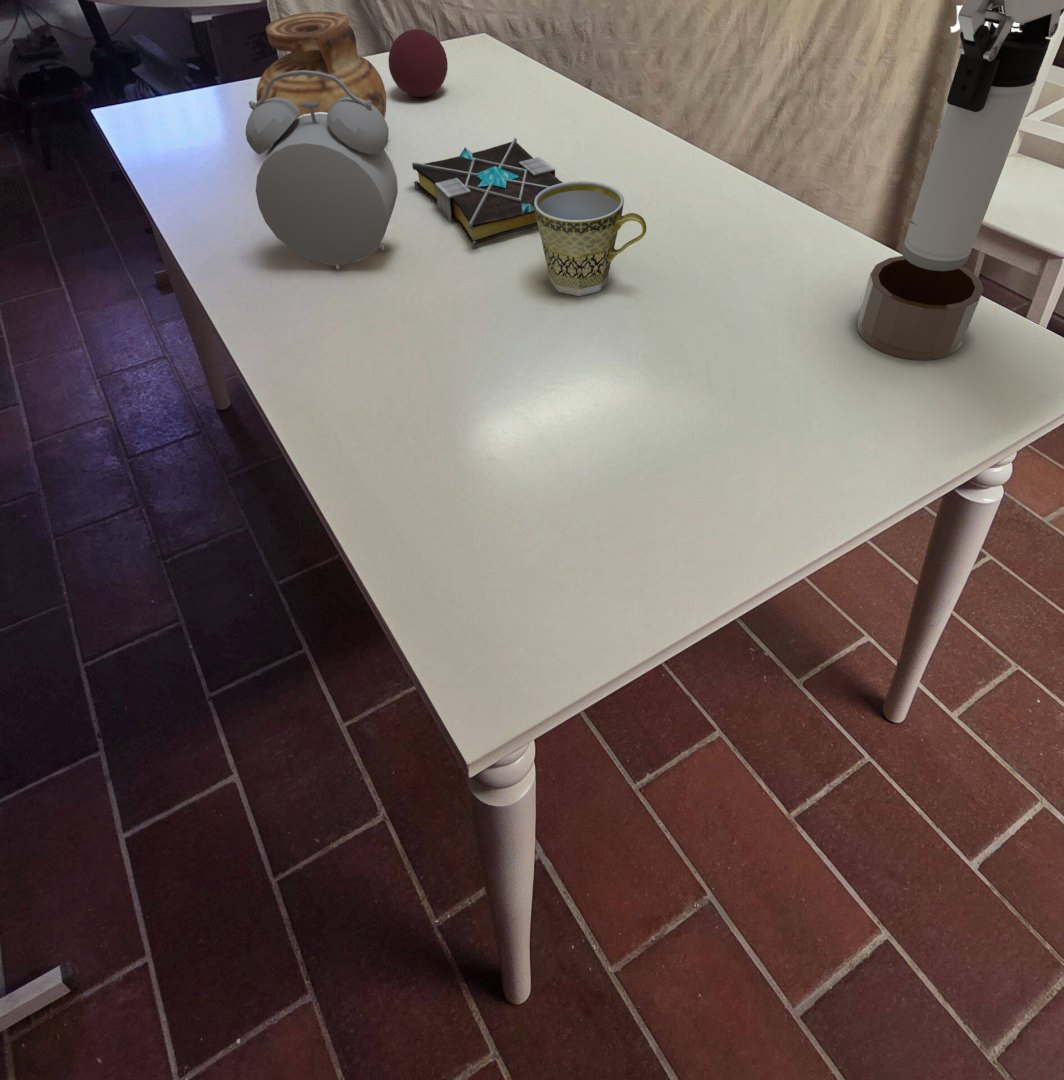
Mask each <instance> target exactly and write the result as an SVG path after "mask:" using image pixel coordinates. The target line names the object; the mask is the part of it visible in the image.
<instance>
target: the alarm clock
mask: <svg viewBox="0 0 1064 1080" xmlns="http://www.w3.org/2000/svg"><path fill="white" fill-rule="evenodd" d="M298 75H309V76H317V77H323V78H327V79H330V80H333V81H334V82H335V83H337V84H338V85H339V86H340V87H341V88H342V89H343V90H344V91H345V92H346V94H347V95H348V96H349V97H343V98H340V99H338V100H337V101H336V102H335V103H334V104H333V105H332V106H331V107H330V108H329V111H328V113H325V112H317V113H314V110H313V108H318V107H319V102H302V103H301V106H302V107H303V108H309V109H310V114H304V115H302V116H300V117H298V118H296V117H297V115H298V113H299V111H300V110H299V109H298V108H297V107H296V105H295V104H294V103H292V102H290V101H289V100H287V99H285V98H280V97H276V98H270V99H267V100H266V98H267V96H268V95H269V91H270V88H271V86H272V85H273V83H274V82H275V81H277V80H279V79H281V78H285V77H291V76H298ZM248 105H249V107H250V109H251V110H252V111H251V112H250V114H249V117H248V118H247V121H246V125H245V139H246V141H247V143H248V145H249V146H250V149H252V151H254V152H255V154H256V155H261V154H263V153H264V152H266V151H267V150H268V149H269V151H268V153H267V154H266V156H265V158H264V159H263V161H262V164H261V165H260V168H259V170H258V172H257V174H256V184H255V194H256V195H255V196H256V201H257V206H258V209H259V211H260V214H261V215H262V218H263V220H264V222H265V224H266V225H267V227H269V229H270V230H271V232H272V233H273V234H274V236H275V237H276V238H277V239H278V240H279V241H280V242H282V243H283V244H284V245H285V246H286V247H287V248H288V249H289V250H291V251H293V252H294V253H297V254H298V255H300V256H302V257H303V258H305V259H308V260H311V261H312V262H313V261H314V262H317V263H318V264H319V263H320V264H324V265H325V264H327V265H333V266H335V268H336V269H337V270H339V269H340V268H341V265H350V264H354V263H356V262H359V261H361V260H363V259H366V258H367V257H368V256H370V255H371V254H372V253H374V252H375V251H376V250H377V249H378V247H379V249H381V250H382V251H384V250H385V249H386V248H385V245H384V244H383V242H382V241H383V239H384V238H385V235H386V232H387V229H388V226H389V223H390V221H391V217H392V214H393V212H394V209H395V206H396V202H397V197H398V193H399V183H398V174H397V171H396V167H395V164H394V162H393V159H392V157H391V155H390V154H389V152H388V150H387V149H386V146H387V144H388V143H389V142H388V141H389V125H388V122H387V121H386V118H385V119H384V117H383V115H382V114H381V112H380V111H379V110H378V109H377V108H376V107H375V106H373V105H372V102H371V100H368V101H366V100H364V99H361V98H357V97H355V96H354V95H353V94H352V93H351V92H350V91H349V90H348V89H347V87H346V86H345V84H344V83H342V82H341V81H340V80H339V79H337V78H336V77H335V76H332V75H329V74H326V73H322V72H316V71H307V70H299V71H291V72H286V73H281V74H279V75H277V76H274V77H273V78H272V79H271V81H270V82H269V83H268V85H267V87H266V93H265V95H264V96H263V98H262V99H260V100H259V101H258V102H257V101H256V102H255V101H252V100H249V101H248ZM295 118H296V119H295Z"/></svg>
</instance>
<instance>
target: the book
mask: <svg viewBox="0 0 1064 1080" xmlns="http://www.w3.org/2000/svg"><path fill="white" fill-rule="evenodd" d="M411 166H412V170H413V171H416V172H417V176H418V180H415V181H413V184H414V188H415V189H419V190H421V191H422V192H423V193H425V194H426V195H427V196H428V197H429V198H430V199H432V200H433V201H434V202H435V203H436V204H437V209H438V210H439V212H440V213H441V214H442V215H443V216H444V217H445V218H447V220H448V221H449V222H450V223H455V222H456V223H457V225H459V226H460V228H461V229H462V230H463V232H464V233H465V235H466V236H467V238H468V240H469V241H470V242H471V244H472V249H476V248H477V246H478V245H481V244H484V243H487V242H490V241H493V240H497V239H499V238H503V237H505V236H509V235H513V234H517V233H521V232H525V231H528V230H532V229H536V228H538V224H537V219H536V214H535V207H534V201H535V198H536V196H537V195H538V194H539V193H540V192H541V191H543V190H544V189H546V188H548V187H550V186H553V185H556V184H560V183H564V182H563V181H561V180H560V179H559V178H558V177H556V168H554V167H553V166H552V165H551V164H550V163H548V162H547V161H545V160H544V159H543V158H542V157H540V156H537V157H533V156H532V155H531V154H530V153H529V152H527V151H526V149H524V148H523V147H522V146H521V145H520V144H519V143H518V139H517V137H513V139H512V141H510V142H506V143H503V144H499V145H496V146H493V147H490V148H487V149H483V150H479V151H478V150H477V151H474V152H472V151H470V149H468V148H467V147H465V146H464V148H463V149H462V151H461V153H460V154H459V155H458V156H454V157H450V158H446V159H441V160H437V161H432V162H425V163H420V162H412V163H411Z"/></svg>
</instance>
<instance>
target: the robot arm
mask: <svg viewBox="0 0 1064 1080" xmlns="http://www.w3.org/2000/svg"><path fill="white" fill-rule="evenodd" d="M999 7H1004V12H1000V11H997V10H993V9H996V8H999ZM1063 14H1064V0H966V1H965V3H964V4H963V5H962V7H961V8H960V10H959V11H958V16H957V20H958V24H959V29H960V33H959V39H960V42H961V43H960V45H959V47H958V53H959V55H960V56H959V57H958V58H959V59H958V62H957V65H956V68H955V72H954V75H953V77H952V80H951V85H950V88H949V91H948V94H947V98H946V103H947V105H948V104H950V105H953V106H956V107H960V108H963V109H966V110H969V111H973V112H979V111H981V110H982V109H983V108H984V106H985V103H986V100H987V97H988V94H989V91H990V88H991V85H992V83H993V80H994V77H995V74H996V71H997V68H998V65H999V62H1000V59H996V58H995V57H996V55H997V53H998V52H999V50H1000V48H1001V46H1002V44H1003V42H1004V40H1005V38H1006V36H1007V35H1008V33H1010V31H1011V29H1012V27H1013V25H1014V23H1015V24H1019V25H1018V31H1017V30H1015V31H1013V32H1011V33H1013V34H1017V35H1021V36H1024V38H1023V39H1024V40H1029V41H1032V42H1035V43H1039V42H1043V43H1045V44H1047V46H1048V47H1049V45H1050V43H1051V41H1052V40H1051V38H1053V37H1054V36H1055V34H1056V33H1057V30H1058V29H1059V24H1060V18H1061V16H1062V15H1063ZM986 22H987V23H992V24H995V25H996V24H997V27H996V28H995V30H994V31H995V32H994V34H993V36H992V38H991V36H990V32H989V30H990V28H989V26H988V25H986ZM1040 70H1041V67H1040V68H1039V71H1040Z"/></svg>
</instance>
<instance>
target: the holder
mask: <svg viewBox="0 0 1064 1080" xmlns="http://www.w3.org/2000/svg"><path fill="white" fill-rule="evenodd" d="M984 289H985V288H984V286H983V284H982V282H981V280H980V277H978V276H977V275H976V274H974V272H972V271H971V270H970V269H969V268H967V267H965V266H962V267H960V268H958V269H955V270H950V271H933V270H927V269H924V268H920V267H918V266H915V265H913V264H911V263H910V262H909V261H907V260H906V259H905V258H904V256H903V255H898V256H893V257H889V258H888V257H887V258H886V259H884V260H882V261H880V262H879V263H877V264H875V266H874V267H873V269H872V270H871V272H870V274H869V277H868V281H867V284H866V287H865V291H864V294H863V299H862V301H861V306H860V309H859V313H858V319H857V323H856V327H857V331H858V333H859V335H860V337H861V338H862V339H863V340H864V342H866V343H867V344H868V345H870V346H871V347H873V348H874V349H876V350H877V351H880V352H882V353H885V354H887V355H889V356H892V357H896V358H901V359H905V360H911V361H912V360H913V361H933V360H938V359H942V358H945V357H948V356H950V355H953V354H954V353H955V352H957V351H958V349H959V348H960V347H961V346H962V344H963V341H964V339H965V336H966V334H967V332H968V329H969V327H970V324H971V322H972V320H973V317H974V315H975V312H976V309H977V307H978V305H979V302H980V300H981V297H982V294H983V292H984V291H985V290H984Z"/></svg>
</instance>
